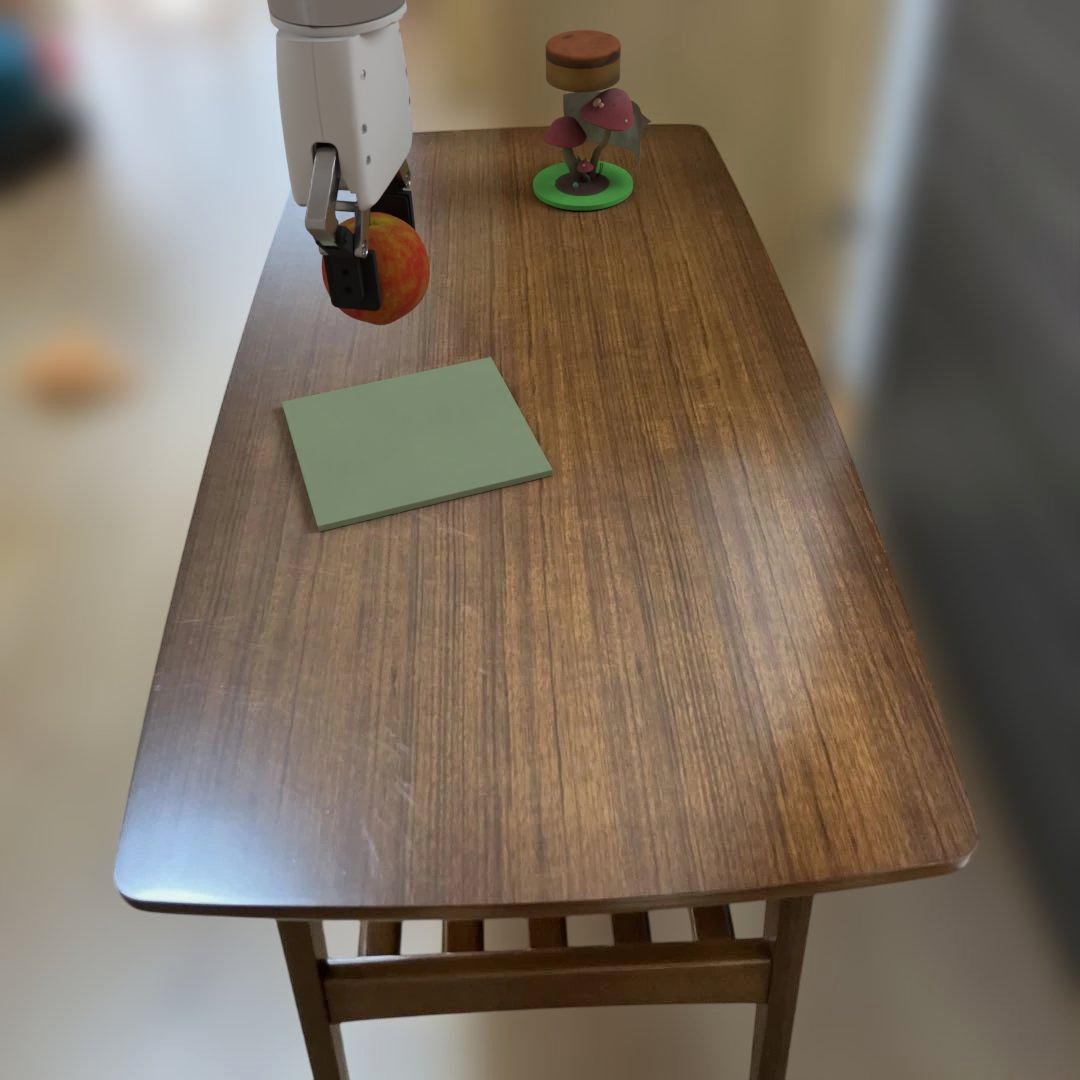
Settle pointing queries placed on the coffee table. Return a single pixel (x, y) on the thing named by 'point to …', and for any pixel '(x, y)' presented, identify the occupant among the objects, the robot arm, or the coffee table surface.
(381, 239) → the fruit
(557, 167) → the mushroom figurine
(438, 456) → the mat
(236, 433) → the coffee table surface
